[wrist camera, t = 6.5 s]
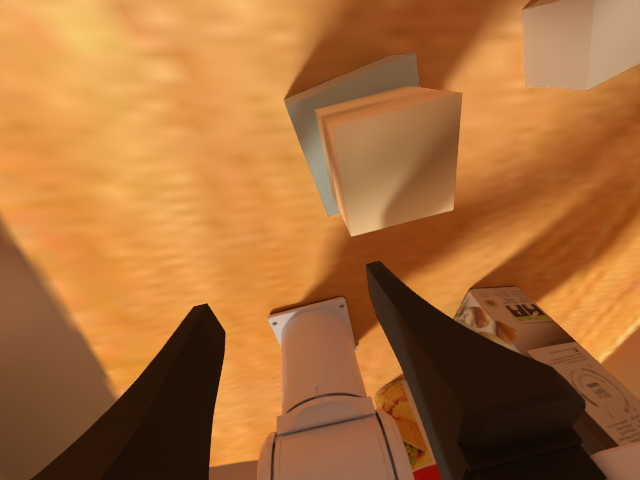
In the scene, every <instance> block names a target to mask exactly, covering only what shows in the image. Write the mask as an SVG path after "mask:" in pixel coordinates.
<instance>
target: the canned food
mask: <svg viewBox="0 0 640 480" xmlns="http://www.w3.org/2000/svg"><path fill="white" fill-rule="evenodd" d="M375 402H376V406H377V409H383V410H384V411H385V412H386V413H388V414H389V415H390V416H391V417H392V418H393V419H394V421H395V423H396V425H397V427H398V430H399V432H400V435H401V438H402V440H403V443H404V446H405V449H406V452H407V455H408V459H409V462H410V466H411V469H412V473H413V477H414V480H442V479H441V476H440V473H439V470H438V467H437V464H436V461H435V458H434V456H433V453H432V450H431V447H430V444H429V441H428V438H427V435H426V433H425V430H424V427H423V424H422V421H421V419H420V416H419V413H418V410H417V408H416V405H415V402H414V399H413V397H412V394H411V391H410V389H409V386H408V383H407V381H406V379H400V380H397V381H394V382H392V383H389V384H387V385H386V386H384V387H383V388H381V389H380V390H379V391H378V392H377V394H376V396H375Z"/></svg>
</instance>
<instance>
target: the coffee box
mask: <svg viewBox="0 0 640 480" xmlns="http://www.w3.org/2000/svg"><path fill="white" fill-rule="evenodd" d="M454 320H455V321H457V322H458V323H460V324H462V325H464V326H465V327H467V328H469V329H471V330H473V331H475V332H476V333H478V334H480V335H482V336H484V337H486V338H488V339H490V340H492V341H494V342H496V343H498V344H500V345H502V346H504V347H506V348H508V349H511V350H513V351H515V352H517V353H520V354H522V355H525V356H527V357H530V358H532V359H535V360H537V361H539V362H542V363H544V364H547V365H549V366H552V367H553V368H554V369H555V370H556V371H557V372H558V373H560V374H561V375H562V376H563V377H564V378H565V379H566V380H567V381H568V382H569V383H570V384H571V385H572V386H573V387H574V388H575V389H576V390H577V392H578V393H579V394H580V395H581V396H582V397H583V398H584V399H585V402H586V408H585V410H584V412H583V414H582V415H581V416H580V417H579V419H578V420H577V421H576V422H575V424H574V425H573V426H572V427H573V429H574V430H575V431H576V432H577V433H578V435H579V436H580V437H581V438H582V441H583V443H582V444H580V445H581V447H582V448H583V449H584V450H585V452H586V453H587V454H588V455H589V456H591V455H593V454H595V453H597V452H600V451H603V450H607V449H611V448H615V447H619V446H623V445H627V444H630V443H634V442H640V400H639V399H638V398H637V397H635V396H634V395H633V394H632V393H631V392H630V391H629V390H628V389H627V388H626V387H625V386H624V385H623V384H622V383H620V382H619V381H618V380H617V379H616V378H615V377H614V376H613V375H612V374H611V373H610V372H609V371H607V370H606V369H605V368H604V367H603V366H602V365H601V364H600V363H599V362H598V361H597V360H596V359H595V358H594V357H593V356H591V355H590V354H589V353H588V352H587V351H586V350H585V349H584V348H583V347H582V346H581V345H580V344H579V343H577V342H576V341H575V340H574V339H573V338H572V337H571V336H570V335H569V334H568V333H567V332H566V331H565V330H563V329H562V328H561V327H560V326H559V325H558V324H557V323H556V322H555V321H554V320H553V319H552V318H551V317H549V316H548V315H547V314H546V313H545V312H544V311H543V310H542V309H541V308H540V307H539V306H538V305H537V304H536V303H534V302H533V301H532V300H531V299H530V298H529V297H528V296H527V295H526V294H525V293H524V292H523V291H522V290H520V289H519V288H518V287H499V288H479V289H471V290H469V291H468V293H467V295H466V297H465V299H464V301H463V303H462V304H461V306H460V308H459V310H458V312H457V314H456V316H455V318H454Z"/></svg>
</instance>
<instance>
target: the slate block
mask: <svg viewBox="0 0 640 480" xmlns="http://www.w3.org/2000/svg"><path fill="white" fill-rule="evenodd" d="M403 86H413V87H420V84H419V75H418V66H417V57H416V52H414V53H405V54H396V55H389V56H386V57H384V58H381V59H379V60H377V61H374V62H372V63H369V64H367V65H365V66H362V67H360V68H357V69H355V70H353V71H350V72H348V73H346V74H343V75H341V76H338V77H336V78H334V79H331V80H329V81H326V82H324V83H322V84H319V85H317V86H314V87H312V88H310V89H307V90H305V91H303V92H300V93H298V94H295V95H293V96H291V97H288V98H286V99H284V101H285V105H286V108H287V111H288V113H289V116H290V118H291V121H292V124H293V126H294V129H295V131H296V134H297V137H298V139H299V142H300V145H301V147H302V150H303V152H304V155H305V158H306V160H307V163H308V165H309V168H310V171H311V173H312V176H313V178H314V181H315V184H316V186H317V189H318V192H319V194H320V197H321V199H322V202H323V205H324V207H325V210H326V212H327V215H328V217H329V216H332V215H335V214H337V213H340V211H339V209H338V206H337V204H336V202H335V200H334V198H333V195H332V191H331V186H330V181H329V176H328V171H327V167H326V162H325V157H324V152H323V147H322V142H321V137H320V132H319V128H318V123H317V118H316V113H315V109H319V108H323V107H327V106H331V105H334V104H338V103H342V102H346V101H350V100H354V99H357V98H361V97H365V96H369V95H373V94H377V93H380V92H384V91H388V90H392V89H396V88H400V87H403Z"/></svg>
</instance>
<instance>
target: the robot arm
mask: <svg viewBox="0 0 640 480" xmlns="http://www.w3.org/2000/svg"><path fill="white" fill-rule="evenodd" d="M366 271H367V279H368V286H369V294H370V298H371V301H372V304H373V307H374V310H375V313H376V315H377V318H378V320H379V322H380V324H381V326H382V328H383V330H384V332H385V334H386V337H387V339H388V341H389V343H390V345H391V347H392V349H393V351H394V353H395V355H396V357H397V359H398V361H399V364H400V366H401V368H402V370H403V373H404V376H405V378H406V381H407V383H408V386H409V389H410V391H411V394H412V397H413V399H414V402H415V405H416V408H417V410H418V413H419V416H420V419H421V421H422V424H423V427H424V430H425V433H426V435H427V438H428V441H429V444H430V447H431V450H432V453H433V456H434V458H435V461H436V464H437V467H438V470H439V473H440V476H441V479H442V480H640V442H634V443H630V444H627V445H623V446H619V447H615V448H611V449H607V450H603V451H600V452H597V453H595V454H593V455H591V456H589V455H588V454H587V453H586V452H585V450H584V449H583V448H582V447H581V445H580V444H582V443H583V441H582V438H581V437H580V436H579V435H578V433H577V432H576V431H575V430H574V429H573V427H572V426H573V425H574V424H575V422H576V421H577V420H578V419H579V417H580V416H581V415H582V414H583V412H584V410H585V408H586V402H585V399H584V398H583V397H582V396H581V395H580V394H579V393H578V392H577V390H576V389H575V388H574V387H573V386H572V385H571V384H570V383H569V382H568V381H567V380H566V379H565V378H564V377H563V376H562V375H561V374H560V373H558V372H557V371H556V370H555V369H554V368H553V367H552V366H549V365H547V364H544V363H542V362H539V361H537V360H535V359H532V358H530V357H527V356H525V355H522V354H520V353H517V352H515V351H513V350H511V349H508V348H506V347H504V346H502V345H500V344H498V343H496V342H494V341H492V340H490V339H488V338H486V337H484V336H482V335H480V334H478V333H476V332H475V331H473V330H471V329H469V328H467V327H465V326H464V325H462V324H460V323H458V322H457V321H455V320H453V319H452V318H450V317H449V316H447V315H446V314H444V313H442V312H441V311H439V310H438V309H436V308H435V307H434V306H432V305H431V304H429V303H428V302H427V301H425V300H424V299H423V298H421V297H420V296H419V295H417V294H416V293H415V292H414V291H412V290H411V289H410V288H409V287H408V286H406V285H405V284H404V283H403V282H402V281H400V280H399V279H398V278H397V277H396V276H395V275H394V274H393V273H392V272H391V271H390V270H389V269H388V268H387V267H386V266H385V265H384V264H383V263H382V262H380V261H377V262H373V263H369V264H366ZM268 322H269V324H270V326H271V328H272V330H273V332H274V334H275V336H276V338H277V340H278V342H279V344H280V346H281V374H282V415H281V416H278V417H277V432H272V433H270V434H269V435H268V437H267V439H266V441H265V443H264V444H263V446H262V448H261V451H260V456H259V462H258V472H257V480H414V477H413V473H412V469H411V466H410V462H409V459H408V455H407V452H406V449H405V446H404V443H403V440H402V438H401V435H400V432H399V430H398V427H397V425H396V423H395V421H394V419H393V418H392V417H391V416H390V415H389V414H388V413H386V412H385V411H384V410H383V409H377V410H374V406H373V403H372V399H371V397H370V396H369V397H367V394H366V391H365V387H364V383H363V380H362V376H361V373H360V369H359V365H358V362H357V358H356V355H355V353H356V352H357V350H356V345H355V341H354V336H353V332H352V327H351V323H350V318H349V314H348V309H347V305H346V300H345V298H344V297H338V298H334V299H330V300H327V301H323V302H319V303H315V304H311V305H307V306H303V307H299V308H295V309H291V310H287V311H283V312H279V313H276V314H272V315H270V316H269V317H268ZM224 352H225V331H224V329H223V327H222V326H221V324H220V323H219V321H218V320H217V318H216V316H215V315H214V313H213V312H212V310H211V309H210V307H209V305H208V304H207V303H206V304H202V305H198V306H194V307H193V308H192V309H191V311H190V312H189V313H188V315H187V316H186V317H185V319H184V320H183V321H182V323H181V324H180V325H179V327H178V328H177V329H176V331H175V332H174V333H173V335H172V336H171V337H170V339H169V340H168V341H167V343H166V344H165V345H164V347H163V348H162V349H161V350H160V352H159V353H158V354H157V355H156V357H155V358H154V359H153V360H152V362H151V363H150V364H149V365H148V366H147V368H146V369H145V370H144V371H143V373H142V374H141V375H140V376H139V377H138V379H137V380H136V381H135V382H134V383H133V384H132V385H131V386H130V388H129V389H128V390H127V391H126V392H125V393H124V394H123V395H122V396H121V397H120V398H119V399H118V400H117V401H116V402H115V404H114V405H113V406H112V407H111V408H110V409H109V410H108V411H107V412H106V413H104V414H103V415H102V416H101V417H100V418H99V419H98V420H97V421H96V422H95V423H94V424H93V425H92V426H91V427H90V428H89V429H88V430H87V431H86V432H85V433H84V434H83V435H82V436H81V437H79V438H78V439H77V440H76V441H75V442H74V443H73V444H72V445H71V446H70V447H69V448H67V449H66V450H65V451H64V452H63V453H62V454H61V455H59V456H58V457H57V458H56V459H55V460H54V461H52V462H51V463H50V464H49V465H48V466H47V467H46V468H44V469H43V470H42V471H41V472H39V473H38V474H37V475H36V476H35V477H34V478H32V479H31V480H209V462H210V446H211V434H212V423H213V415H214V408H215V402H216V397H217V392H218V387H219V381H220V376H221V371H222V365H223V359H224Z"/></svg>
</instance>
